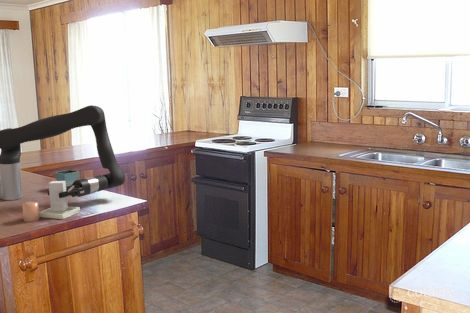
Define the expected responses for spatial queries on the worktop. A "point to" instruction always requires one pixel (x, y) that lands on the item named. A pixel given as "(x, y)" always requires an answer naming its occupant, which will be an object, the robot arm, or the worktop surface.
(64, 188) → the skincare box
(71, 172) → the flower pot
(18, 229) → the worktop surface
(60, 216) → the tray
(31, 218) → the orange-pink rounded cylinder
